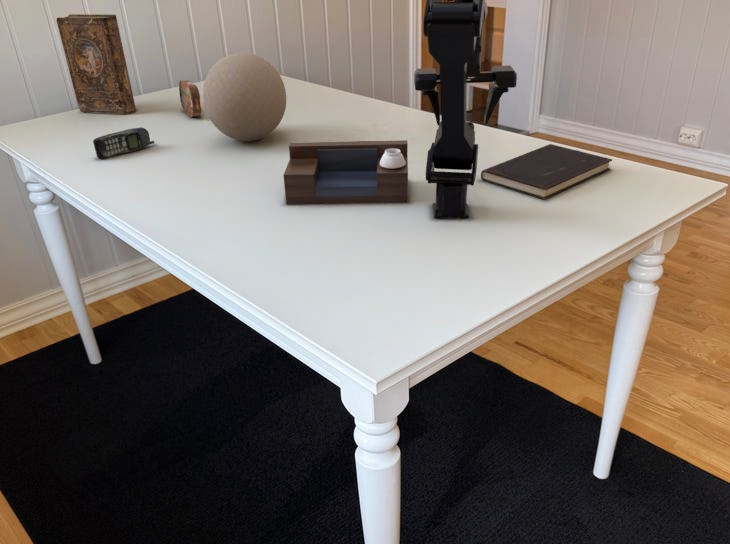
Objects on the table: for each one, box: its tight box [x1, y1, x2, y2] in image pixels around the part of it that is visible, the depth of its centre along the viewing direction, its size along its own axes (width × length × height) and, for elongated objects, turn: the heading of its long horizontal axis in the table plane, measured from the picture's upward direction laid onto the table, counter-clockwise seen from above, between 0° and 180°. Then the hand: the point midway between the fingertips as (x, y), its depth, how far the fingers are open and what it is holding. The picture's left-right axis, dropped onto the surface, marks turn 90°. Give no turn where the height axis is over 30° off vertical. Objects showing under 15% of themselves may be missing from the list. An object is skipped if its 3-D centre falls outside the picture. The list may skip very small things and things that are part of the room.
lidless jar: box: [380, 149, 406, 169], centre depth 132 cm, size 5×3×5 cm
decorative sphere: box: [202, 52, 287, 142], centre depth 165 cm, size 20×20×20 cm
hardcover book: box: [480, 143, 613, 201], centre depth 142 cm, size 16×23×2 cm
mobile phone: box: [92, 127, 155, 160], centre depth 165 cm, size 5×3×15 cm
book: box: [56, 13, 137, 116], centre depth 192 cm, size 16×6×25 cm, turn 73°
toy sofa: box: [282, 139, 409, 205], centre depth 136 cm, size 12×24×8 cm, turn 87°
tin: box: [178, 80, 202, 118], centre depth 190 cm, size 15×3×8 cm, turn 25°
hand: (462, 124), depth 133 cm, fingers open, 9 cm apart
